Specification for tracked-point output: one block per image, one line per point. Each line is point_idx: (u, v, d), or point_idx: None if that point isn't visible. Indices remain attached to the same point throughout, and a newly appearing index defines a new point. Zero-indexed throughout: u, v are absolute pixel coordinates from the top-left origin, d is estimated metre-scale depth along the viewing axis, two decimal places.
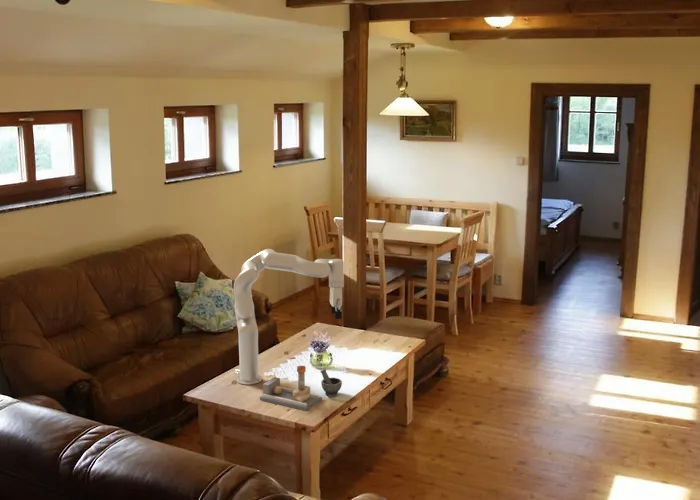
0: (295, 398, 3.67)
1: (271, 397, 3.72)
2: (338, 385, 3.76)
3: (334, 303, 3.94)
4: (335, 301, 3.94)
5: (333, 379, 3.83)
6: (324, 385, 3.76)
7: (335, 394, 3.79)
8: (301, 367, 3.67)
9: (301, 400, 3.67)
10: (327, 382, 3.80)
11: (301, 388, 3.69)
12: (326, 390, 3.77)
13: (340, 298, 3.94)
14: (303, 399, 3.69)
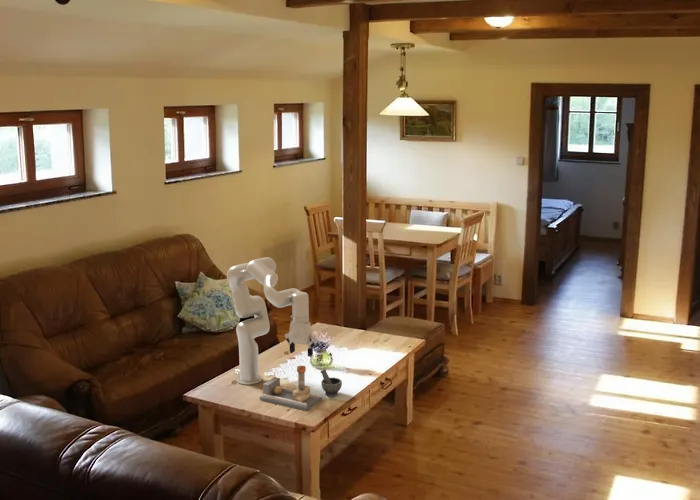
0: (295, 398, 3.67)
1: (271, 397, 3.72)
2: (338, 385, 3.76)
3: (307, 340, 3.61)
4: (308, 337, 3.61)
5: (333, 379, 3.83)
6: (324, 385, 3.76)
7: (335, 394, 3.79)
8: (301, 367, 3.67)
9: (301, 400, 3.67)
10: (327, 382, 3.80)
11: (301, 388, 3.69)
12: (326, 390, 3.77)
13: (311, 333, 3.63)
14: (303, 399, 3.69)
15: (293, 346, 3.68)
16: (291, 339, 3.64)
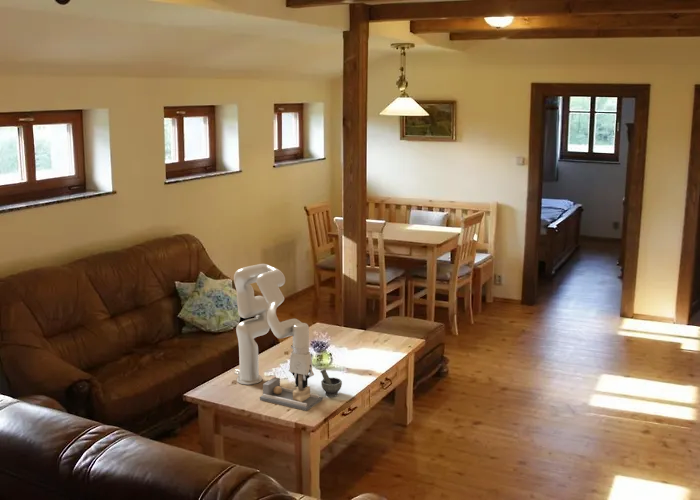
0: (295, 398, 3.68)
1: (271, 397, 3.72)
2: (338, 385, 3.76)
3: (308, 370, 3.64)
4: None
5: (333, 379, 3.83)
6: (324, 385, 3.76)
7: (335, 394, 3.79)
8: None
9: (301, 400, 3.67)
10: (327, 382, 3.80)
11: (301, 388, 3.69)
12: (326, 390, 3.77)
13: (311, 363, 3.66)
14: (303, 399, 3.69)
15: None
16: (291, 369, 3.67)
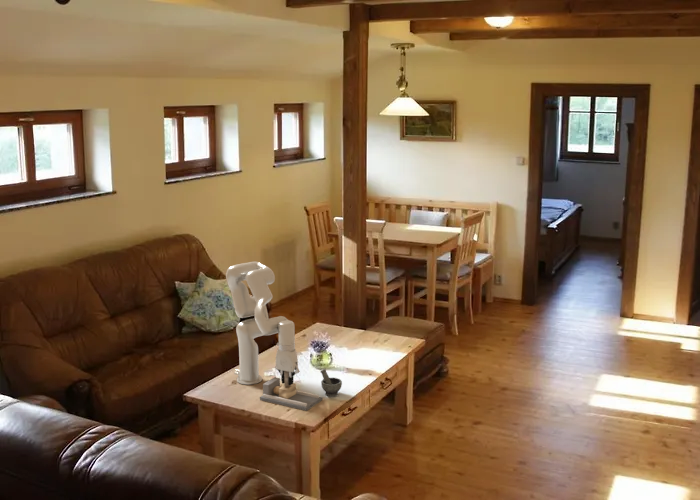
0: (280, 395, 3.71)
1: (271, 397, 3.72)
2: (338, 385, 3.76)
3: (293, 367, 3.68)
4: None
5: (333, 379, 3.83)
6: (324, 385, 3.76)
7: (335, 394, 3.79)
8: None
9: (287, 397, 3.71)
10: (327, 382, 3.80)
11: (287, 385, 3.72)
12: (326, 390, 3.77)
13: (297, 360, 3.70)
14: (289, 396, 3.72)
15: None
16: (277, 366, 3.71)
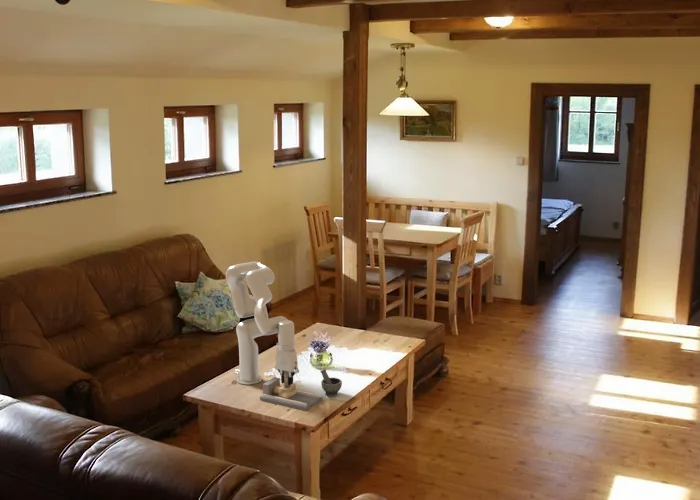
0: (280, 395, 3.71)
1: (271, 397, 3.72)
2: (338, 385, 3.76)
3: (293, 367, 3.68)
4: (293, 368, 3.68)
5: (333, 379, 3.83)
6: (324, 385, 3.76)
7: (335, 394, 3.79)
8: None
9: (287, 397, 3.71)
10: (327, 382, 3.80)
11: (287, 385, 3.72)
12: (326, 390, 3.77)
13: (296, 360, 3.70)
14: (289, 396, 3.73)
15: None
16: (277, 366, 3.71)
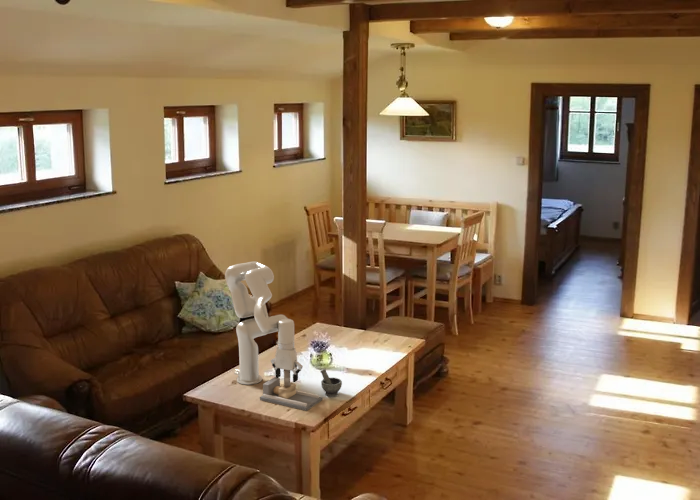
0: (280, 395, 3.71)
1: (271, 397, 3.72)
2: (338, 385, 3.76)
3: (293, 366, 3.68)
4: (293, 364, 3.68)
5: (333, 379, 3.83)
6: (324, 385, 3.76)
7: (335, 394, 3.79)
8: None
9: (287, 397, 3.71)
10: (327, 382, 3.80)
11: (287, 385, 3.72)
12: (326, 390, 3.77)
13: (296, 359, 3.70)
14: (289, 396, 3.73)
15: (279, 371, 3.75)
16: (277, 365, 3.71)
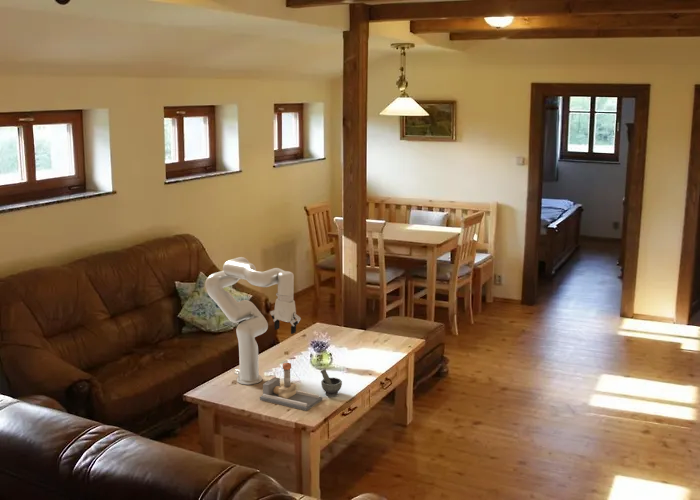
0: (280, 395, 3.71)
1: (271, 397, 3.72)
2: (338, 385, 3.76)
3: (291, 318, 3.74)
4: (292, 315, 3.74)
5: (333, 379, 3.83)
6: (324, 385, 3.76)
7: (335, 394, 3.79)
8: (287, 364, 3.71)
9: (287, 397, 3.71)
10: (327, 382, 3.80)
11: (287, 385, 3.72)
12: (326, 390, 3.77)
13: (295, 311, 3.76)
14: (289, 396, 3.73)
15: (278, 323, 3.82)
16: (276, 316, 3.78)
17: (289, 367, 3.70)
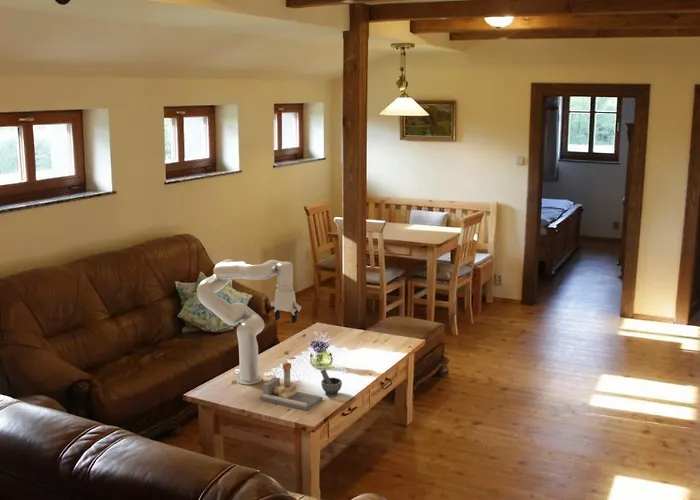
0: (280, 395, 3.71)
1: (271, 397, 3.72)
2: (338, 385, 3.76)
3: (291, 307, 3.80)
4: (292, 305, 3.80)
5: (333, 379, 3.83)
6: (324, 385, 3.76)
7: (335, 394, 3.79)
8: (287, 364, 3.71)
9: (287, 397, 3.71)
10: (327, 382, 3.79)
11: (287, 385, 3.72)
12: (326, 390, 3.77)
13: (295, 301, 3.82)
14: (289, 396, 3.73)
15: (278, 313, 3.87)
16: (276, 306, 3.83)
17: (289, 367, 3.70)
